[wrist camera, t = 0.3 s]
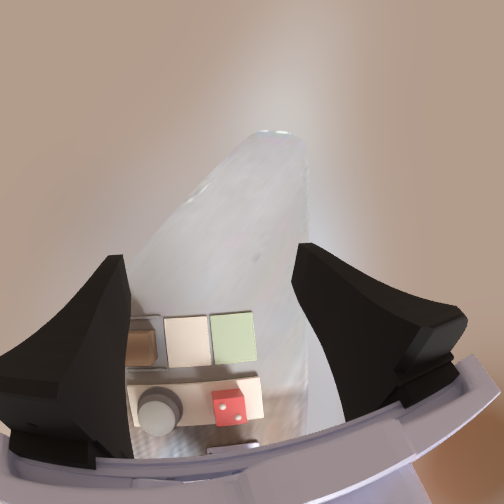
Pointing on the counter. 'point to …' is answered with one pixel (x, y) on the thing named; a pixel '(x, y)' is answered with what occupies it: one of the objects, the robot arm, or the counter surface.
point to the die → (229, 407)
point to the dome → (157, 414)
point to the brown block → (141, 348)
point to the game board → (198, 354)
